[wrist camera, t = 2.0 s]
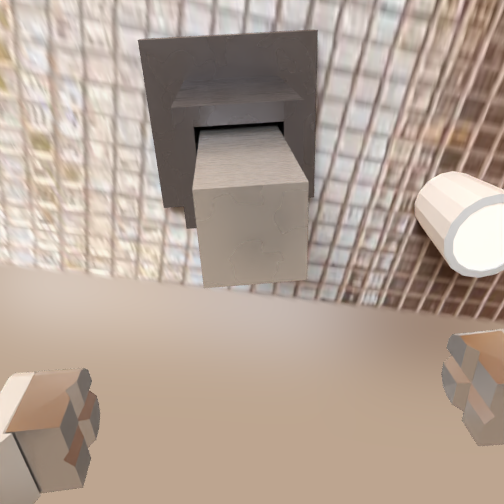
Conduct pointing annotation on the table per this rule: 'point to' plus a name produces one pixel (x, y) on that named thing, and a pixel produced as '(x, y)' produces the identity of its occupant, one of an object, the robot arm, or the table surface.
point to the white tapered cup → (464, 222)
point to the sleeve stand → (227, 97)
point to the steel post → (249, 206)
